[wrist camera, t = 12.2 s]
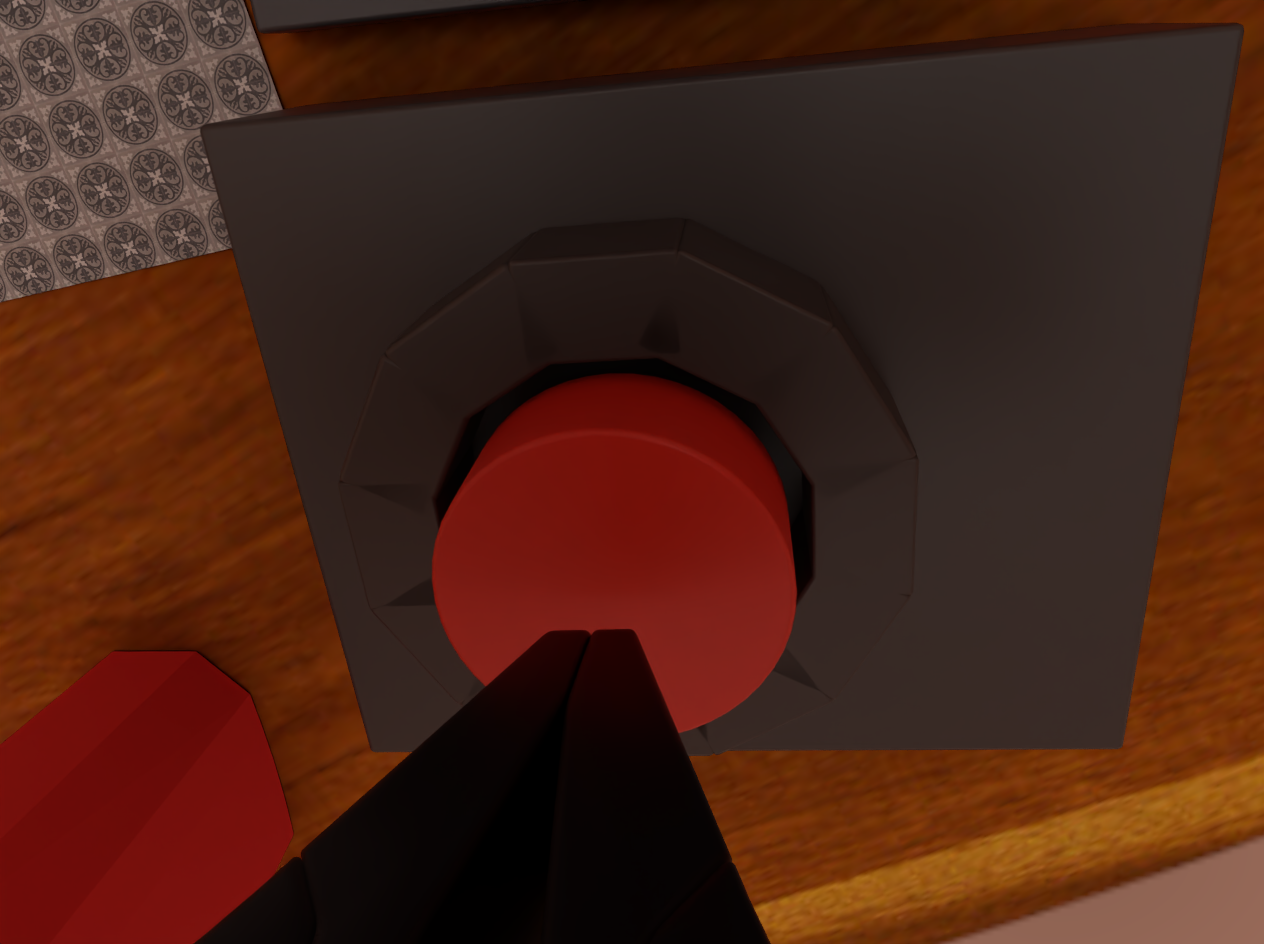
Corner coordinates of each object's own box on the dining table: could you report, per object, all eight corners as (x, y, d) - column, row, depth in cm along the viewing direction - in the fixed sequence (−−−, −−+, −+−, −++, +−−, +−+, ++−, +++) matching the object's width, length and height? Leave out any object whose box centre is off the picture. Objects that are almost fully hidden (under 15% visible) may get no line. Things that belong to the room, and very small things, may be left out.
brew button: (784, 360, 10) (793, 420, 9) (792, 649, 12) (801, 741, 11) (443, 380, 11) (395, 439, 9) (496, 654, 13) (463, 744, 11)
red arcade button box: (1132, 23, 13) (1351, 20, 8) (1057, 628, 17) (1174, 845, 12) (303, 104, 14) (106, 141, 10) (426, 640, 18) (328, 838, 14)
